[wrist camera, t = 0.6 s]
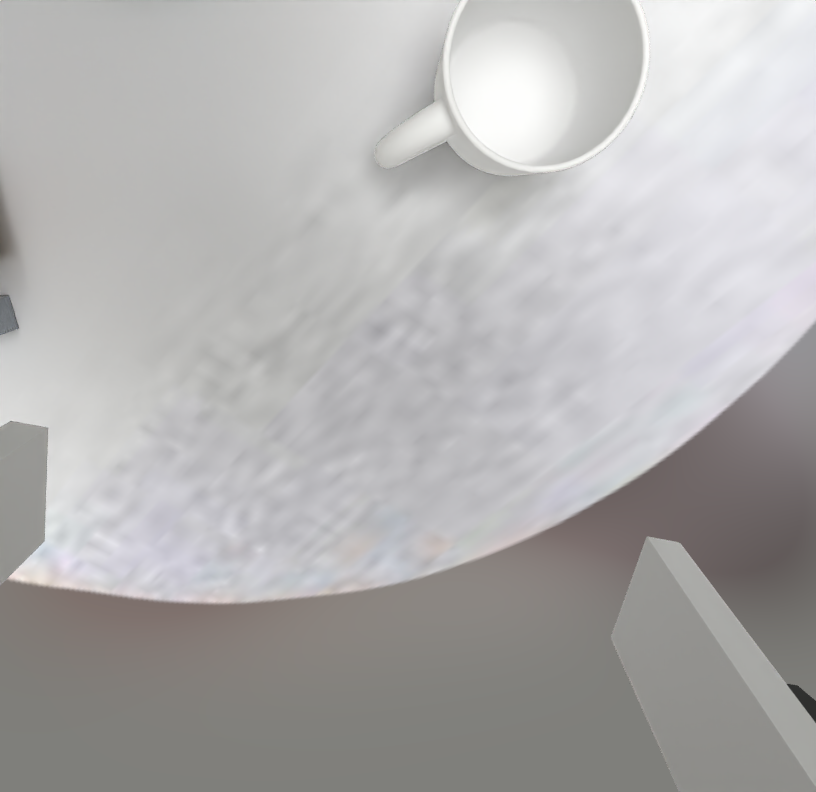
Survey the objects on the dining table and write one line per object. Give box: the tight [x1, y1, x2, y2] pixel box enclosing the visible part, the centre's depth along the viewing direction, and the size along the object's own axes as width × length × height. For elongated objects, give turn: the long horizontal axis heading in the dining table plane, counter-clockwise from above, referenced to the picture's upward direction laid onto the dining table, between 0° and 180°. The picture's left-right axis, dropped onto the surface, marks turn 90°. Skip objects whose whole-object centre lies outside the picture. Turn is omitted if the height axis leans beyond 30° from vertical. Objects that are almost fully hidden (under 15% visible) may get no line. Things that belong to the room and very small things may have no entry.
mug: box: [374, 0, 650, 176], centre depth 31 cm, size 12×8×10 cm
